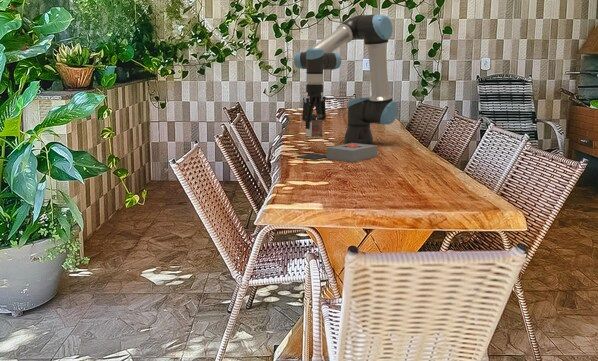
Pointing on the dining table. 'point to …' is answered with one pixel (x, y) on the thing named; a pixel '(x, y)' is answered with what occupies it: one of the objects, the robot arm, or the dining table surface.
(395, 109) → the robot arm
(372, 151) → the button panel
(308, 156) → the mat
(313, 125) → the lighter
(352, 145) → the red dome button
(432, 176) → the dining table surface
